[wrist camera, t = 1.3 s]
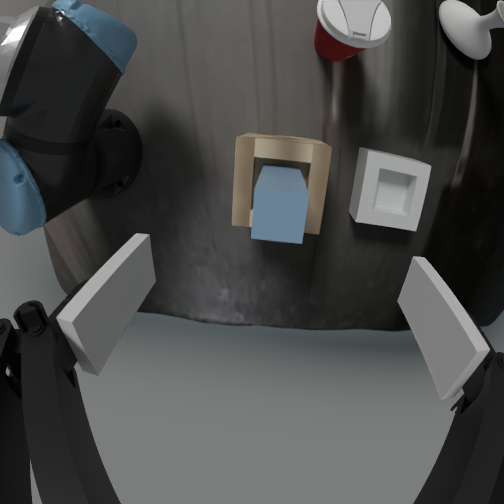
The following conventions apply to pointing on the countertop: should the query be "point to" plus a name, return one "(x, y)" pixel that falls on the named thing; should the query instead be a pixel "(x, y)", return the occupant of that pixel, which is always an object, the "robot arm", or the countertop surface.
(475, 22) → the flower in vase
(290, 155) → the block
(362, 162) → the block
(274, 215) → the plug
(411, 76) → the countertop surface
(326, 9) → the paper cup
